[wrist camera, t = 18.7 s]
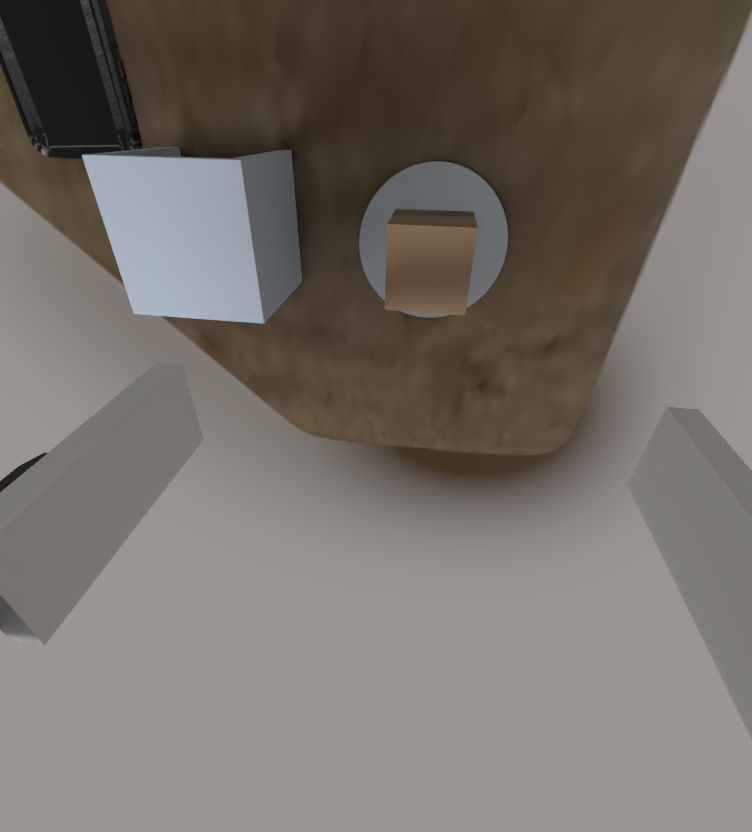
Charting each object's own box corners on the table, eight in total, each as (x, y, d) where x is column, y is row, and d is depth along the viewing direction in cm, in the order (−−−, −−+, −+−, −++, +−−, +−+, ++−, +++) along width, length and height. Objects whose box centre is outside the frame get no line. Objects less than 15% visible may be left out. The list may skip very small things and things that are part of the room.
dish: (361, 158, 27) (358, 159, 26) (520, 163, 26) (523, 164, 25) (361, 307, 33) (359, 312, 32) (491, 316, 32) (493, 322, 31)
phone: (35, 156, 29) (-103, -202, 21) (48, 155, 30) (-79, -188, 22) (140, 160, 28) (43, -211, 20) (150, 159, 29) (61, -197, 21)
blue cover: (168, 146, 28) (81, 154, 22) (291, 150, 28) (240, 160, 21) (197, 274, 33) (133, 313, 27) (302, 281, 33) (263, 323, 26)
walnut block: (395, 208, 28) (386, 223, 23) (473, 211, 27) (477, 227, 23) (393, 284, 30) (384, 309, 26) (463, 288, 30) (465, 315, 26)
